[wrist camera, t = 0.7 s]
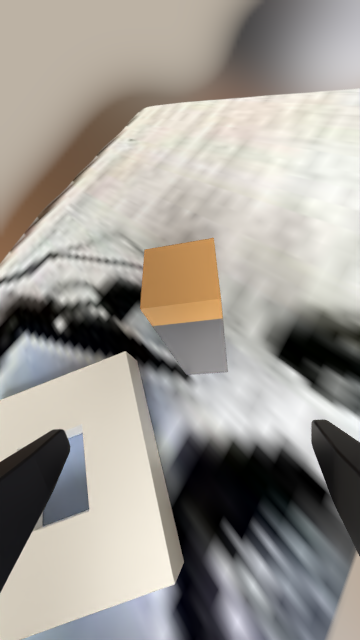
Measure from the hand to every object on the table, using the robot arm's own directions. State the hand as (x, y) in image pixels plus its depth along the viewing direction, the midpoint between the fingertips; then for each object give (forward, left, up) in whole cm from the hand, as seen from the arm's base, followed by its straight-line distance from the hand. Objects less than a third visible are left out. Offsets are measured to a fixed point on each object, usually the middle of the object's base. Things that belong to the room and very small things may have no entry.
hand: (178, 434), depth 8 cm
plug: (+7, -2, -13) cm, 15 cm away
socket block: (+1, +13, -13) cm, 18 cm away
